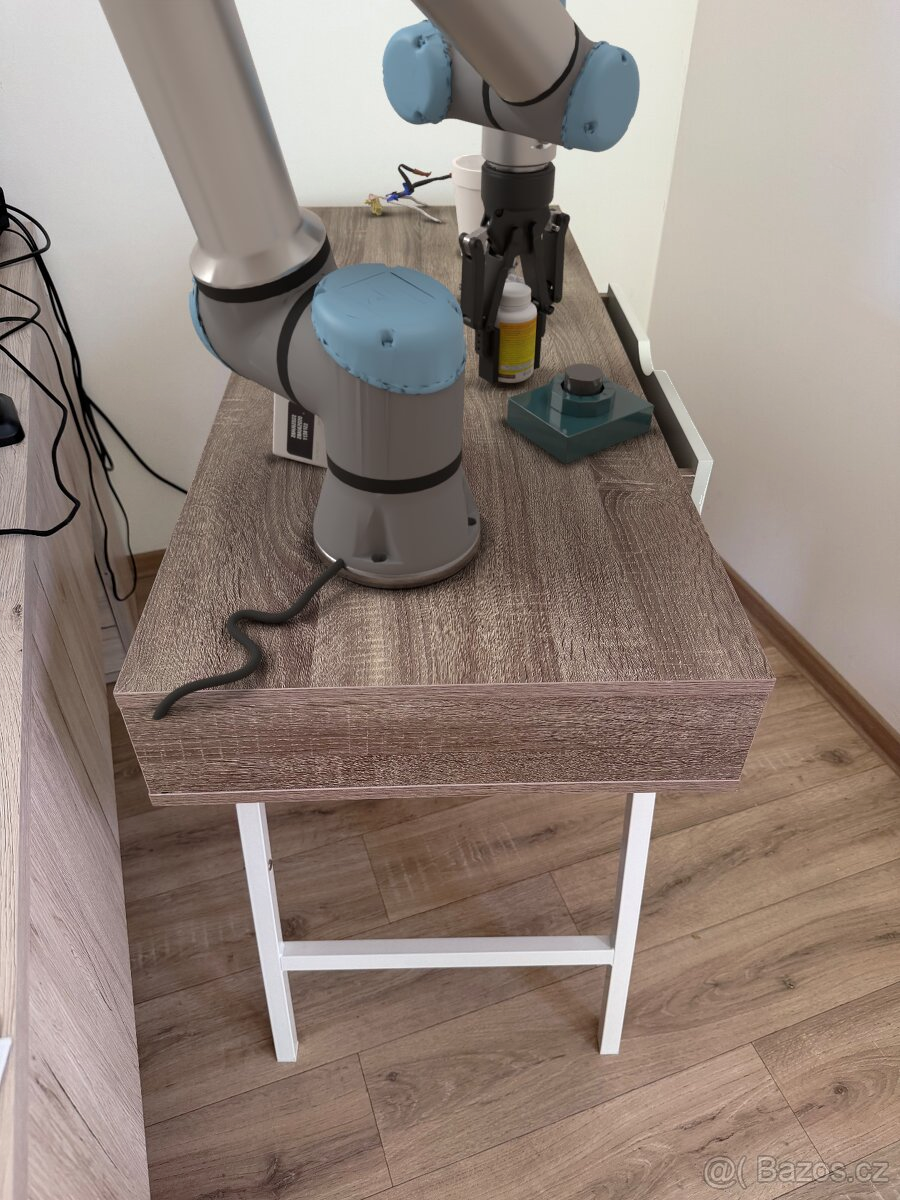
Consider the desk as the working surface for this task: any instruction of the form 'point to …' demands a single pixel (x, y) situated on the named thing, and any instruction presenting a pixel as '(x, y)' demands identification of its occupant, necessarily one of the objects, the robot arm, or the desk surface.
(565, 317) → the desk surface
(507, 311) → the supplement bottle
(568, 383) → the push button
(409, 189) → the figurine
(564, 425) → the teal button base
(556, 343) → the desk surface
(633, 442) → the desk surface
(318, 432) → the container
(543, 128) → the robot arm
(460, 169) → the foam cup
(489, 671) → the desk surface
